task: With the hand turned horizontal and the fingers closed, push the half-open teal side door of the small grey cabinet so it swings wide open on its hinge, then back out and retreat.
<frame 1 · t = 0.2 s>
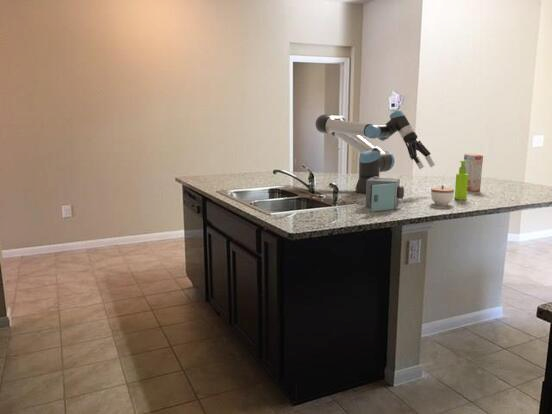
hand: (427, 167, 260), 15 cm above the worktop, tool tilted 35°, fingers open, 13 cm apart
side door: (384, 197, 217), point 6 cm above the worktop, hinge at 50.0°
lidded jar: (441, 204, 234), on the worktop
soap dispenser: (461, 199, 250), on the worktop
cracker box: (470, 189, 280), on the worktop
small grey cabinet: (382, 205, 230), on the worktop
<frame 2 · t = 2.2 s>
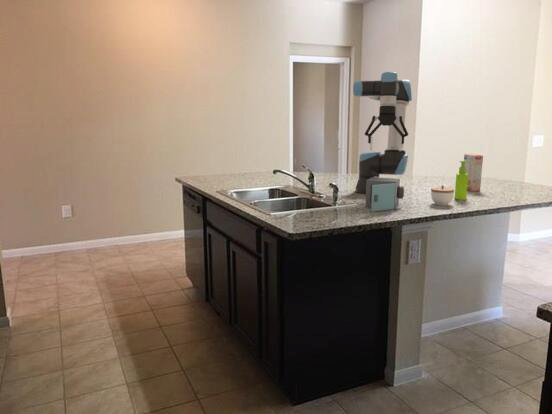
hand: (385, 150, 225), 27 cm above the worktop, tool pointing down, fingers open, 13 cm apart
nothing on the worktop moved.
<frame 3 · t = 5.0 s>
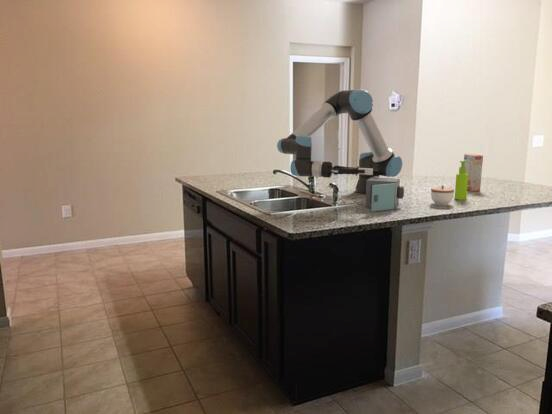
hand: (372, 171, 214), 18 cm above the worktop, tool horizontal, fingers closed
nothing on the worktop moved.
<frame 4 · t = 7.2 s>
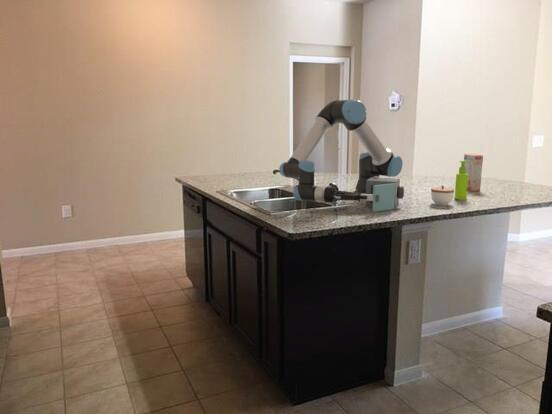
hand: (374, 197, 215), 6 cm above the worktop, tool horizontal, fingers closed
side door: (385, 197, 217), point 6 cm above the worktop, hinge at 53.7°, touching gripper
everything else where it was.
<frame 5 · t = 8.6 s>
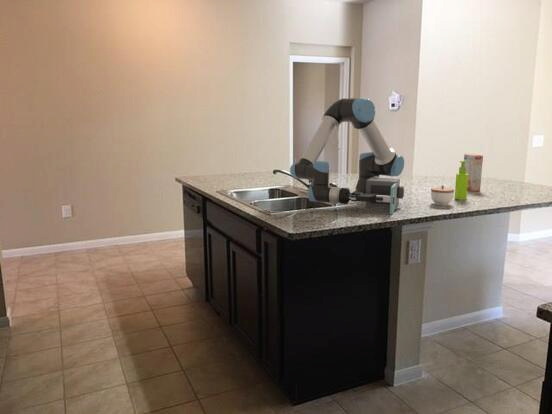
hand: (390, 199, 211), 6 cm above the worktop, tool horizontal, fingers closed
side door: (394, 198, 214), point 6 cm above the worktop, hinge at 91.7°, touching gripper
everything else where it was.
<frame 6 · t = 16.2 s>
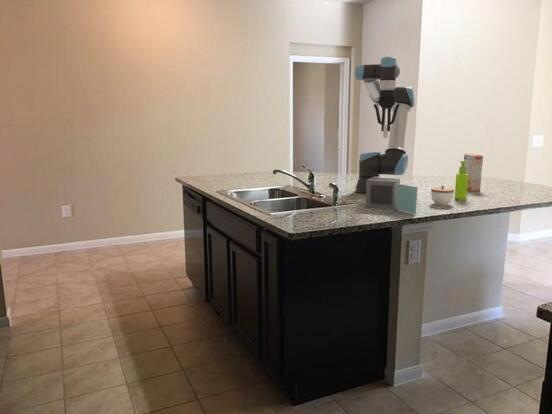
hand: (385, 138, 236), 32 cm above the worktop, tool pointing down, fingers closed
side door: (405, 198, 215), point 6 cm above the worktop, hinge at 139.7°
everything else where it was.
at the end: side door at +140° (first picture: +50°) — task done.
